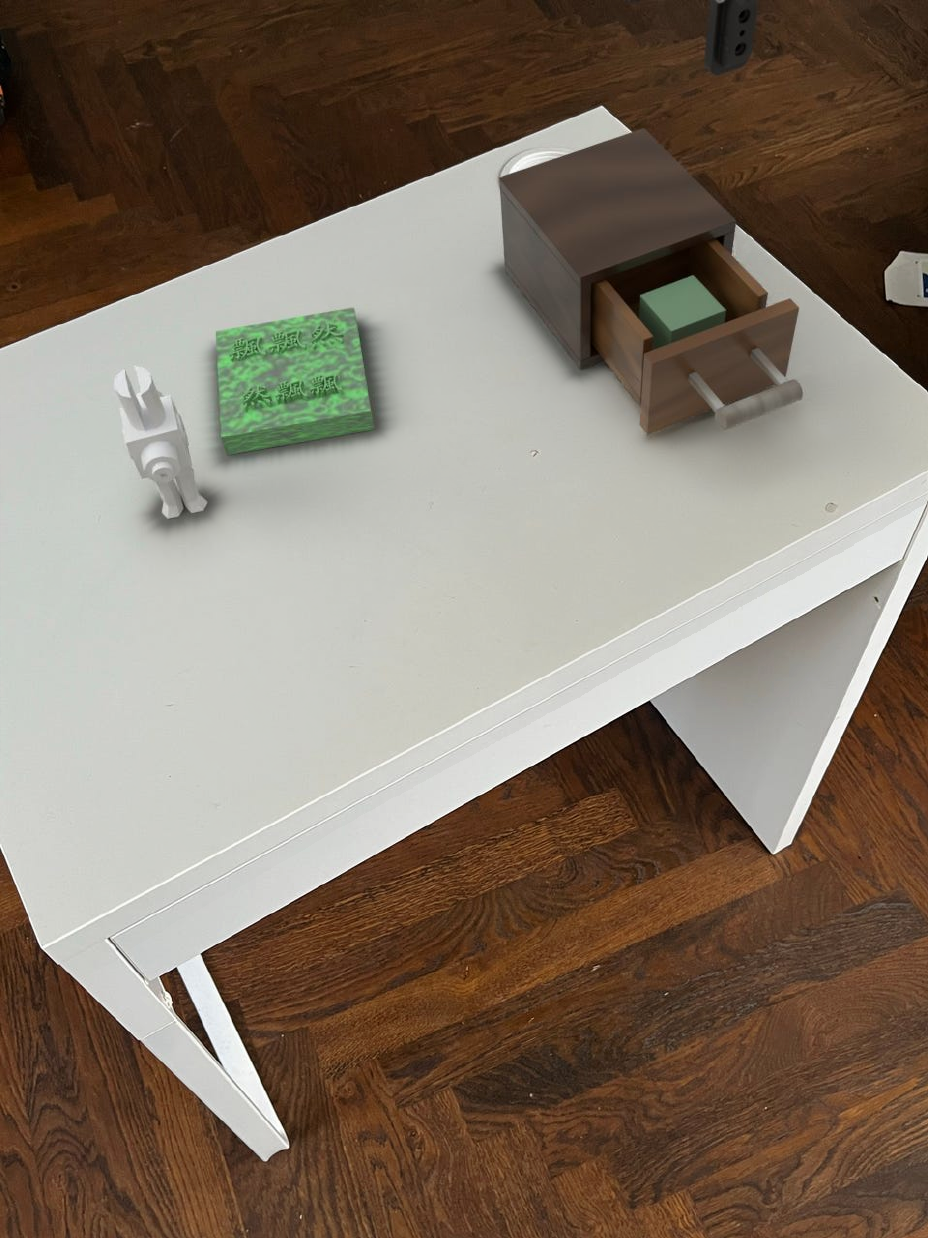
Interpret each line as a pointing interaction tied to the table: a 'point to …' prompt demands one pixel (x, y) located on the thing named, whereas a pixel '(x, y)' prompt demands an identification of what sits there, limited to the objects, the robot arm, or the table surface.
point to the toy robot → (158, 442)
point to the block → (679, 311)
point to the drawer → (697, 343)
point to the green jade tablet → (292, 381)
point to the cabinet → (599, 226)
